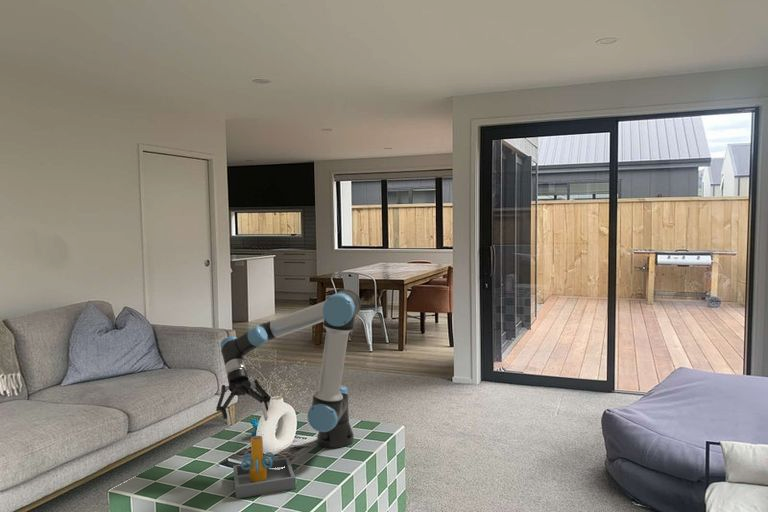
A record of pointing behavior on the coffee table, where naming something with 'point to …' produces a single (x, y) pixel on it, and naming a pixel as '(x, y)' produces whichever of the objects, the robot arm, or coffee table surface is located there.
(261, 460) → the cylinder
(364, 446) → the coffee table surface
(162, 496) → the coffee table surface
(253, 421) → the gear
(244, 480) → the tray
